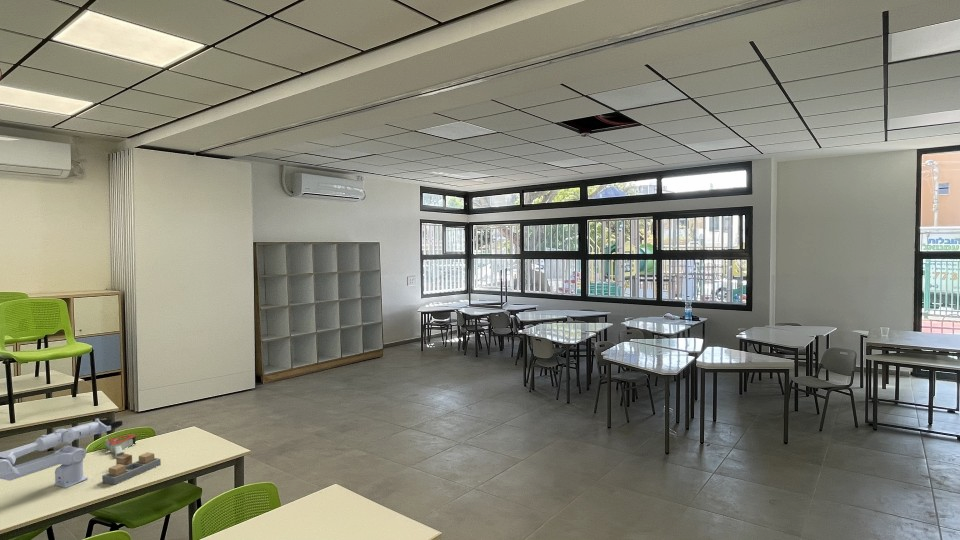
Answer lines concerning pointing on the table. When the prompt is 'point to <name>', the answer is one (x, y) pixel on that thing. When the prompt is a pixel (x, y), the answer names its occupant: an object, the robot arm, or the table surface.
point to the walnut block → (124, 459)
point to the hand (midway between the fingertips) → (116, 422)
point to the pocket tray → (131, 469)
